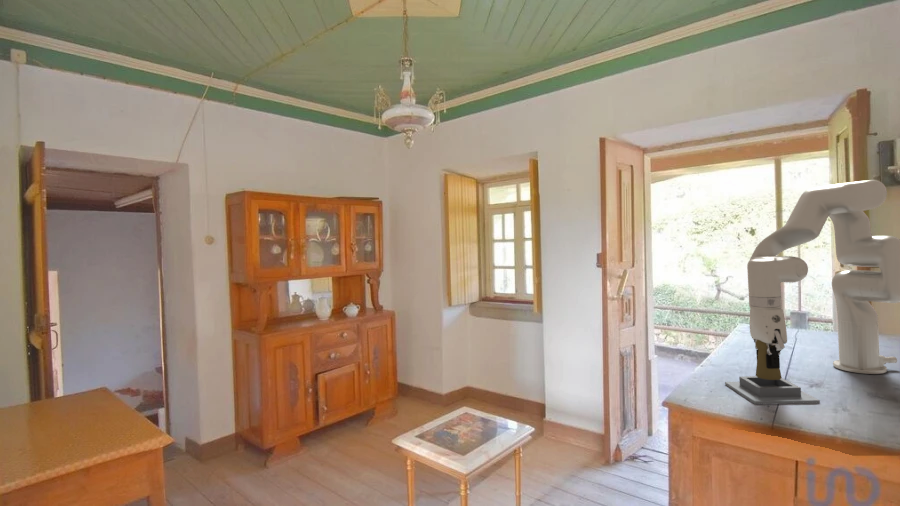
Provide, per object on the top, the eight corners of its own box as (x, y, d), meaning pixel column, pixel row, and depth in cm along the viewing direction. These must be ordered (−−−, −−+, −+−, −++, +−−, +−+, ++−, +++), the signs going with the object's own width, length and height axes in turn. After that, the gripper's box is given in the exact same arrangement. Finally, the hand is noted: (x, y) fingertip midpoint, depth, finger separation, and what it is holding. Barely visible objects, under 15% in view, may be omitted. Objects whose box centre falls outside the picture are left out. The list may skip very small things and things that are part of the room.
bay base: (781, 383, 131) (781, 372, 131) (819, 403, 116) (819, 390, 115) (725, 384, 133) (724, 373, 133) (755, 404, 118) (754, 392, 117)
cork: (750, 374, 127) (748, 337, 127) (769, 372, 128) (767, 335, 127) (767, 380, 121) (765, 341, 121) (787, 378, 122) (785, 339, 121)
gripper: (799, 306, 115) (802, 374, 116) (761, 297, 132) (764, 357, 132) (768, 307, 116) (771, 375, 117) (735, 298, 133) (738, 358, 133)
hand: (768, 365), depth 124 cm, fingers closed on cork, 3 cm apart
